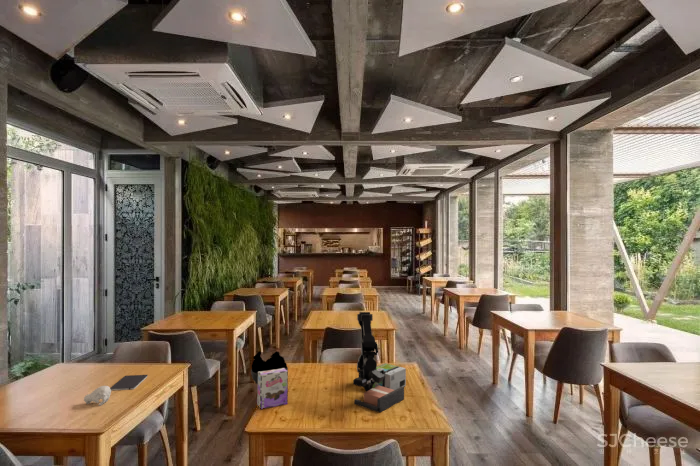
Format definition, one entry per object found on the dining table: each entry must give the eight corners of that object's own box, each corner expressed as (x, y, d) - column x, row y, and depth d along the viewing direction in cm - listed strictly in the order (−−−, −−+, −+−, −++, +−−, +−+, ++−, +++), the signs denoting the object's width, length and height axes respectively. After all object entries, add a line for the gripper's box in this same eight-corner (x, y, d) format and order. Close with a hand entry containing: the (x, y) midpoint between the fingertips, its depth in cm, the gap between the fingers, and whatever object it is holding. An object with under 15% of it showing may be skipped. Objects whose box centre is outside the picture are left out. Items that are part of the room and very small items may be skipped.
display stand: (354, 404, 194) (354, 391, 194) (379, 391, 210) (379, 380, 210) (380, 412, 184) (380, 399, 184) (404, 399, 200) (404, 387, 200)
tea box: (390, 374, 208) (368, 368, 217) (390, 393, 207) (368, 387, 217) (406, 367, 219) (384, 362, 229) (406, 385, 219) (384, 380, 228)
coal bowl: (295, 387, 216) (295, 352, 217) (263, 397, 202) (264, 360, 203) (274, 378, 231) (274, 346, 231) (243, 387, 216) (243, 352, 217)
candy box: (260, 409, 187) (260, 374, 188) (257, 405, 192) (257, 371, 193) (288, 404, 193) (288, 370, 194) (284, 400, 199) (284, 367, 199)
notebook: (125, 378, 232) (108, 391, 211) (125, 375, 232) (108, 388, 211) (148, 377, 234) (134, 390, 213) (148, 374, 234) (134, 387, 213)
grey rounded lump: (104, 387, 191) (79, 390, 191) (106, 405, 191) (80, 408, 190) (112, 383, 197) (87, 385, 197) (113, 400, 197) (89, 403, 197)
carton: (363, 402, 195) (363, 392, 195) (379, 395, 205) (379, 385, 205) (380, 408, 189) (380, 397, 189) (395, 400, 199) (395, 390, 199)
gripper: (370, 372, 190) (370, 405, 189) (392, 363, 204) (392, 393, 203) (352, 367, 197) (352, 399, 196) (374, 359, 211) (374, 388, 211)
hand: (368, 395), depth 201 cm, fingers closed, pressing on carton
